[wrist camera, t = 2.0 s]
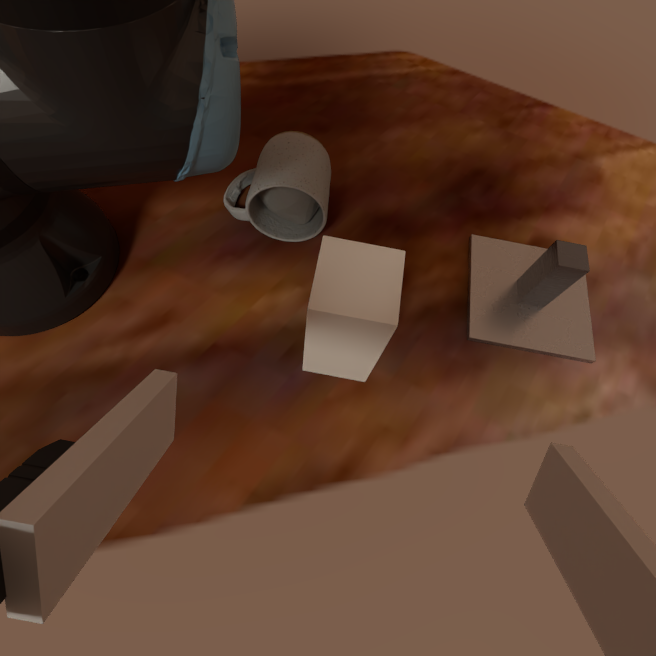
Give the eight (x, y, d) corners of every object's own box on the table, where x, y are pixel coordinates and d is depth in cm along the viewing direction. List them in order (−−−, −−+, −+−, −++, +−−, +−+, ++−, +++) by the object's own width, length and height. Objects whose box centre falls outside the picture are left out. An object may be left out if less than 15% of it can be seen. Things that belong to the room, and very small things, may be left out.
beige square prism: (302, 370, 36) (307, 308, 25) (313, 314, 38) (323, 235, 27) (365, 381, 36) (397, 325, 25) (372, 325, 38) (405, 250, 27)
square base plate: (466, 339, 38) (504, 303, 31) (469, 237, 43) (501, 188, 36) (591, 363, 38) (654, 332, 32) (579, 258, 43) (631, 213, 37)
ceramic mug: (330, 185, 44) (335, 124, 37) (324, 246, 41) (329, 192, 34) (233, 175, 44) (221, 112, 37) (220, 236, 41) (203, 179, 34)
